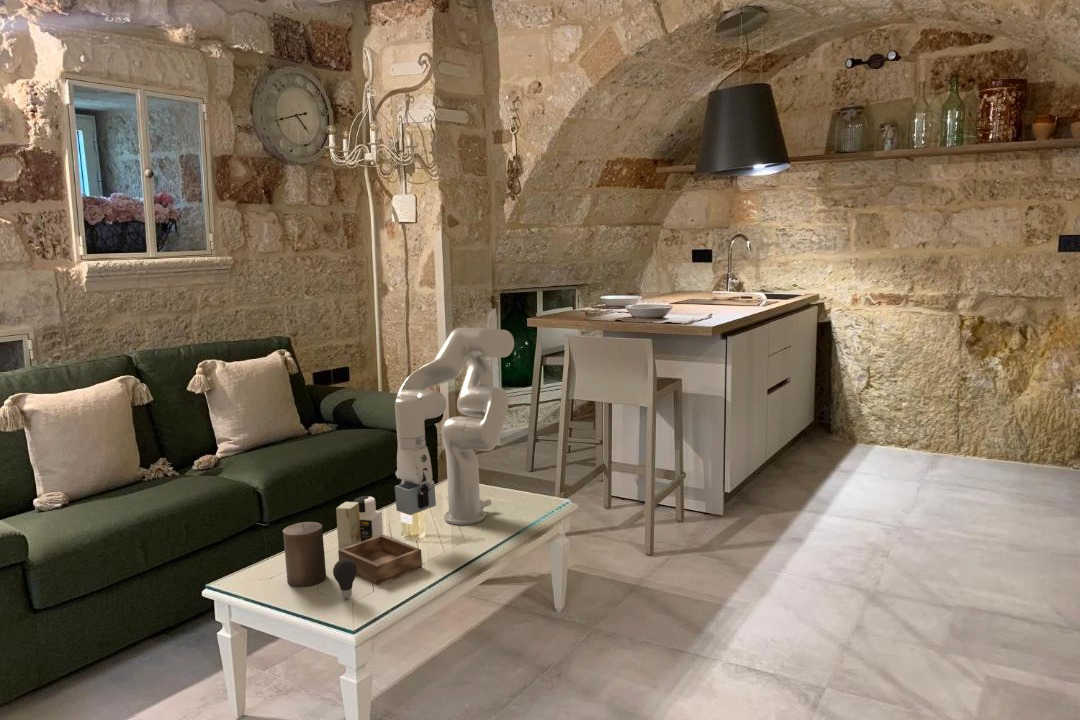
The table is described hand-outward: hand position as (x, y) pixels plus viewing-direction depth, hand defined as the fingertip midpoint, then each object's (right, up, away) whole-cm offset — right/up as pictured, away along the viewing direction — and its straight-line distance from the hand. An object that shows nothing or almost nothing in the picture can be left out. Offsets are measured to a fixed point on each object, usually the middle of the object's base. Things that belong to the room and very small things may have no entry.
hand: (416, 503), depth 229 cm
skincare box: (-19, -13, +4) cm, 24 cm away
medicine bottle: (-16, -12, +11) cm, 23 cm away
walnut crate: (-8, -15, -11) cm, 20 cm away
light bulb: (-12, -18, -29) cm, 36 cm away
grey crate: (0, -1, 0) cm, 1 cm away
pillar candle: (-26, -17, -17) cm, 35 cm away
